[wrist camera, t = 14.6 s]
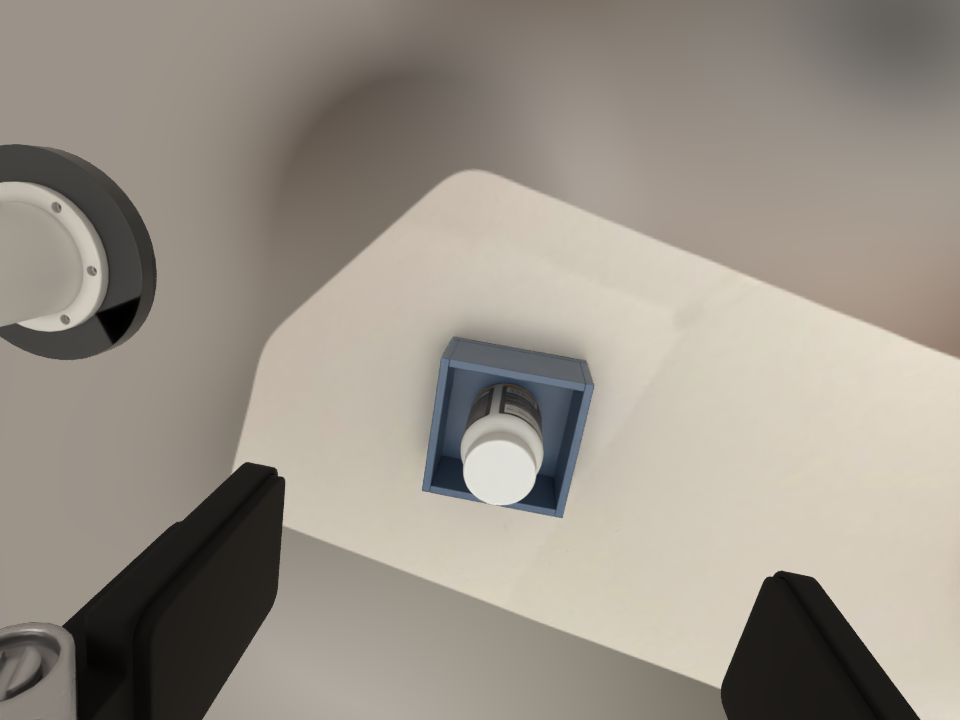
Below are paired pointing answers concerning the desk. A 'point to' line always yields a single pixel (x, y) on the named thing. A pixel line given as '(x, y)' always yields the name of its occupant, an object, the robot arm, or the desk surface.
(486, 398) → the pill bottle
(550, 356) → the bin
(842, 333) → the desk surface
